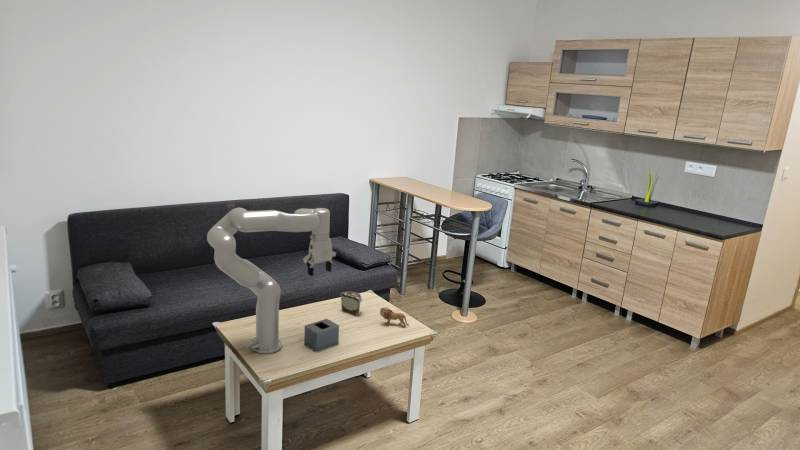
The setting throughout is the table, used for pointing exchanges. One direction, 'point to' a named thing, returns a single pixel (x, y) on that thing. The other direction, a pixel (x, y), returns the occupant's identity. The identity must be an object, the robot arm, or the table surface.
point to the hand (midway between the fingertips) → (319, 273)
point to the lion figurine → (392, 316)
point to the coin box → (321, 335)
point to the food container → (350, 302)
